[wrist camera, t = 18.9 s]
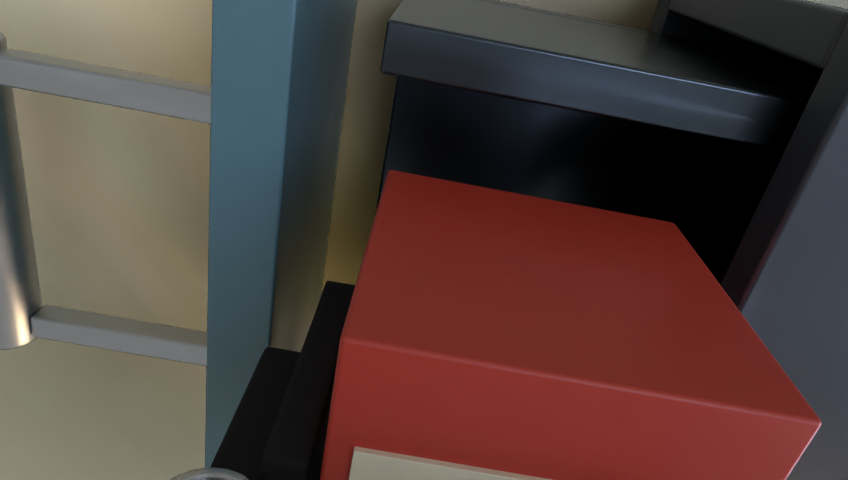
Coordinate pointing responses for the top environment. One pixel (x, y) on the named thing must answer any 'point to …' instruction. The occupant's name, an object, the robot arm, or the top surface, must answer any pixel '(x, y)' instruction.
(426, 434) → the package
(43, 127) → the top surface
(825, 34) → the cabinet
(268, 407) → the robot arm
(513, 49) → the drawer
